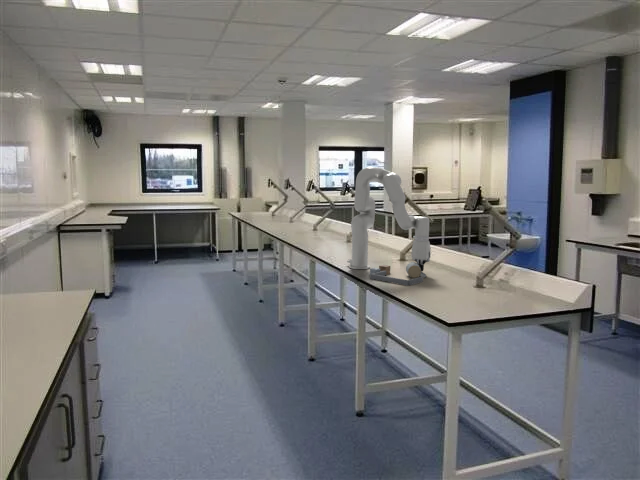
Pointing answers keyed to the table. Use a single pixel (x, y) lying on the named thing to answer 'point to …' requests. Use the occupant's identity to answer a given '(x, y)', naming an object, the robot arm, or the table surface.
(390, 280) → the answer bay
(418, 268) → the ceramic mug
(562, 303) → the table surface
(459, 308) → the table surface
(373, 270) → the slate block
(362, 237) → the robot arm
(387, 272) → the walnut block
